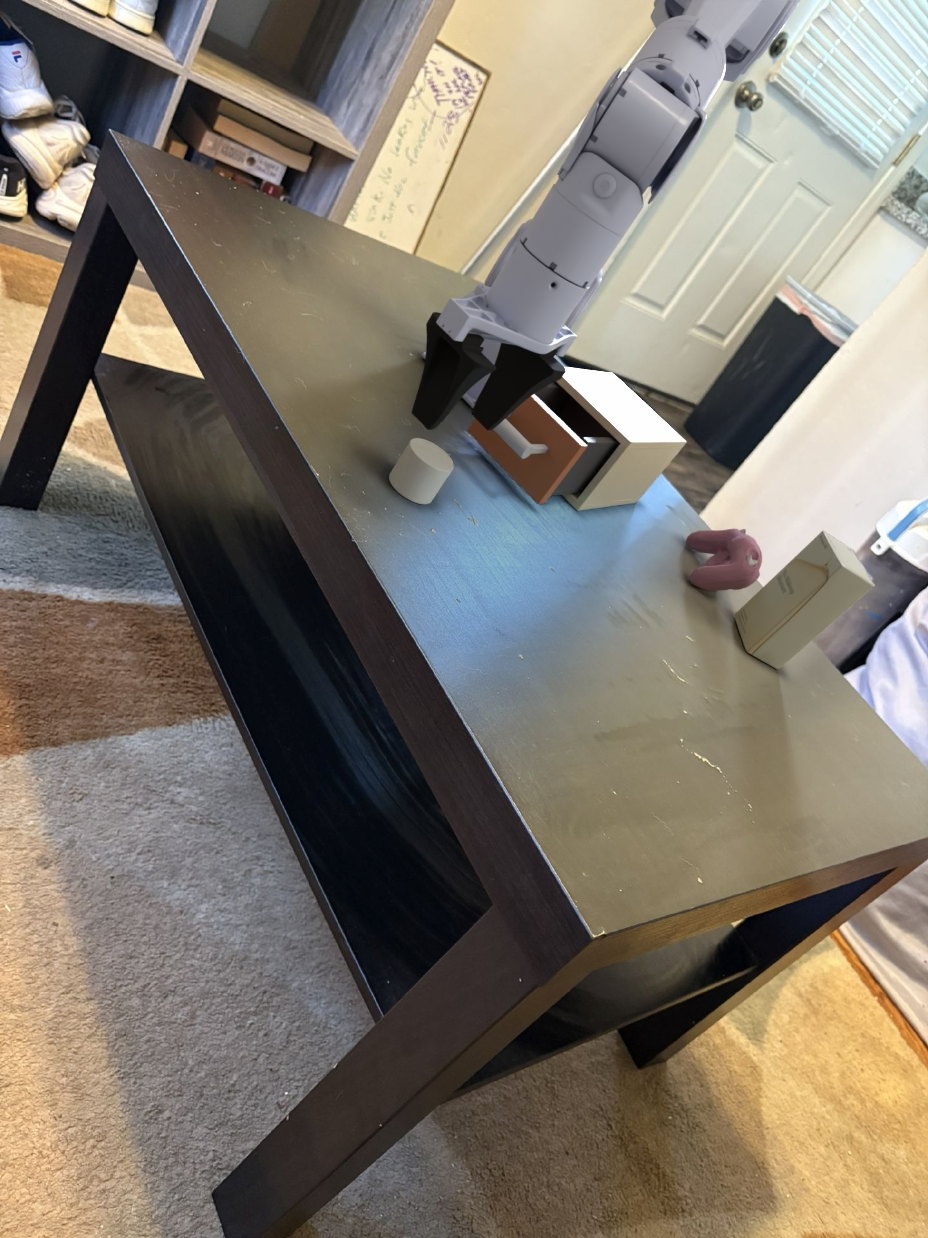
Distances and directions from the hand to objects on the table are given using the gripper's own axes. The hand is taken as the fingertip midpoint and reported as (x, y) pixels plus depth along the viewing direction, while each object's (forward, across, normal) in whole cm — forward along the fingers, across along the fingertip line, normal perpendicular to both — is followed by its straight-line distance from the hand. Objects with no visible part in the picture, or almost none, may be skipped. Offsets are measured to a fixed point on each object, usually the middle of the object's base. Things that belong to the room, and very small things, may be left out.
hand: (453, 421), depth 67 cm
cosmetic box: (+7, -30, +25) cm, 40 cm away
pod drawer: (+6, -18, -1) cm, 19 cm away
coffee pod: (+7, 0, 0) cm, 7 cm away
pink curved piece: (+7, -34, +16) cm, 38 cm away
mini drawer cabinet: (+7, -28, -1) cm, 29 cm away
